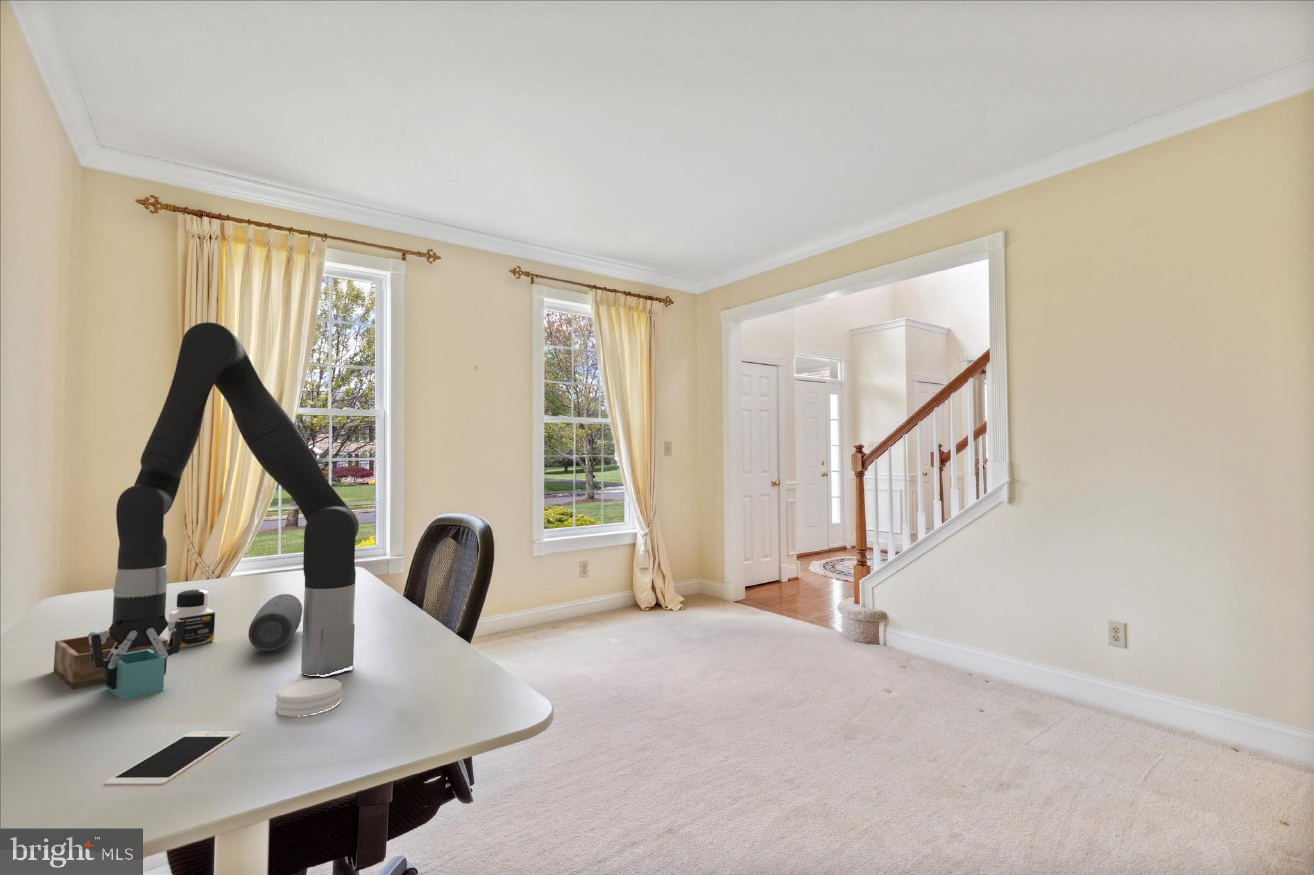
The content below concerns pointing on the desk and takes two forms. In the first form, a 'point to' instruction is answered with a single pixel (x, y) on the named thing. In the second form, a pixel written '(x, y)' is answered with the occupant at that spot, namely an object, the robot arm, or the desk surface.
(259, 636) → the bluetooth speaker
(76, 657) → the walnut crate
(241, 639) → the desk surface
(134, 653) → the small teal crate
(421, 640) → the desk surface
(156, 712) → the desk surface
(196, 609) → the medicine bottle
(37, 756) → the desk surface
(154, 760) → the cell phone
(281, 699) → the coaster
